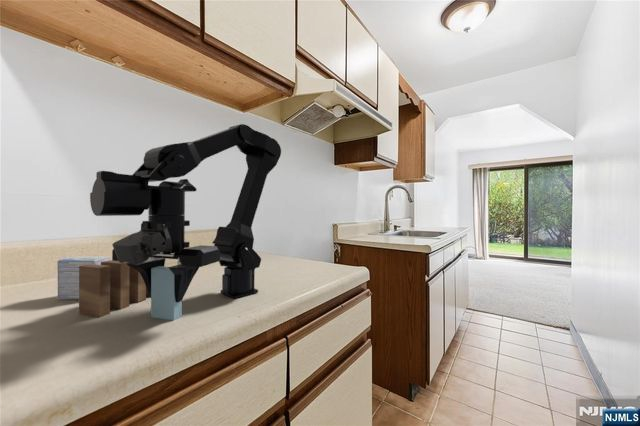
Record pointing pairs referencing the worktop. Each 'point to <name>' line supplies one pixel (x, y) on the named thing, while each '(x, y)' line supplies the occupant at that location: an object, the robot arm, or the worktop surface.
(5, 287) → the worktop surface
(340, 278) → the worktop surface
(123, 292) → the tile
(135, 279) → the tile
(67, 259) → the medicine box
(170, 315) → the tile
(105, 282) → the tile
